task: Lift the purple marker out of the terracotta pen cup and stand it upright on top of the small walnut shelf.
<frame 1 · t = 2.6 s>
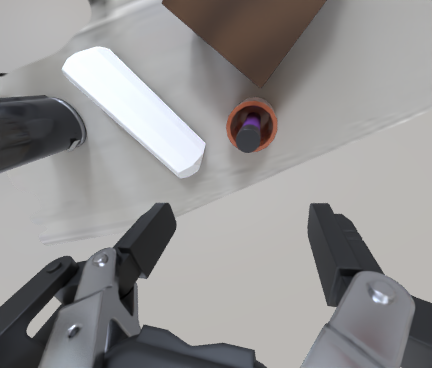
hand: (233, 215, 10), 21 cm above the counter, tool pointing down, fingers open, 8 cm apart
pen cup: (253, 119, 27), on the counter
crystal: (152, 116, 31), on the counter
marker: (253, 119, 26), resting on pen cup
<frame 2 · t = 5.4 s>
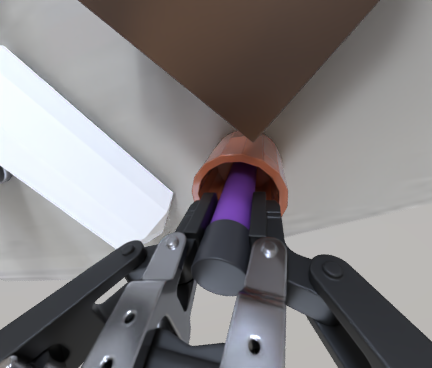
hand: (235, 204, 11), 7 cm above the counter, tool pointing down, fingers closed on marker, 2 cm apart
pen cup: (245, 163, 17), on the counter
crystal: (94, 149, 20), on the counter
marker: (244, 165, 16), point 1 cm above the counter, touching gripper, pen cup
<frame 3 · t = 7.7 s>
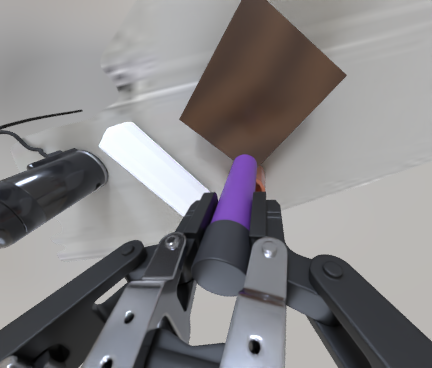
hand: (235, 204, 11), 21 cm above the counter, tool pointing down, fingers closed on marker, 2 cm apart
pen cup: (248, 175, 33), on the counter
shelf: (253, 95, 26), on the counter
crystal: (165, 167, 37), on the counter
marker: (244, 165, 16), point 15 cm above the counter, touching gripper
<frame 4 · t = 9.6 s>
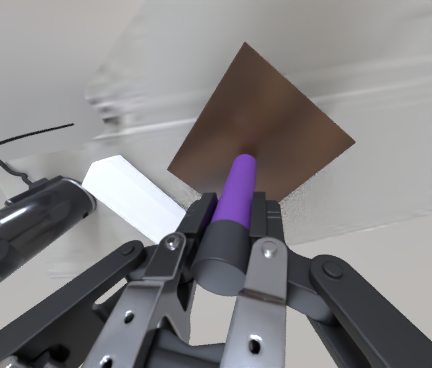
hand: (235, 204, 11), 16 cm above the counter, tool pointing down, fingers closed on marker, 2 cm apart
shelf: (250, 136, 24), on the counter
crystal: (156, 200, 35), on the counter
marker: (244, 165, 16), point 10 cm above the counter, touching gripper
when the fingers open (14 cm above the counter, at t = 10.4 s): marker stays where it is, resting on shelf.
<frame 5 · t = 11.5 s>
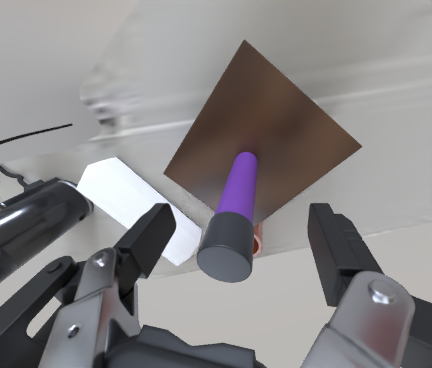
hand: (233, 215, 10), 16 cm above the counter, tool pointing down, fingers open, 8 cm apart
pen cup: (243, 217, 30), on the counter
shelf: (250, 138, 23), on the counter
crystal: (154, 202, 34), on the counter
marker: (245, 162, 17), point 8 cm above the counter, touching shelf
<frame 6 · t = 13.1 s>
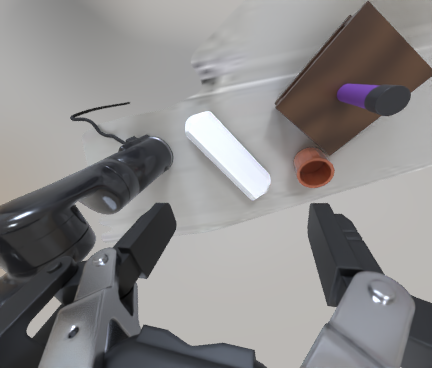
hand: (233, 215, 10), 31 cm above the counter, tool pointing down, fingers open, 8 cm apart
pen cup: (309, 161, 38), on the counter
shelf: (329, 89, 31), on the counter
crystal: (230, 153, 42), on the counter
marker: (346, 92, 24), point 8 cm above the counter, touching shelf
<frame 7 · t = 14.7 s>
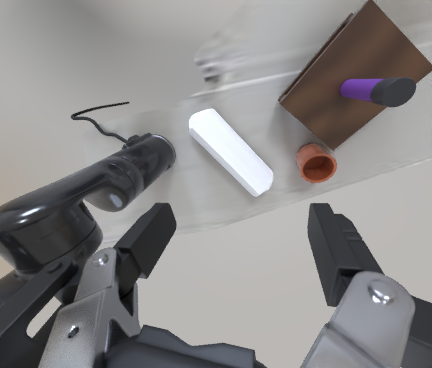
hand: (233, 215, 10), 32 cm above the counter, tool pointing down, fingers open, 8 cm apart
pen cup: (310, 157, 39), on the counter
shelf: (330, 86, 32), on the counter
crystal: (233, 150, 42), on the counter
marker: (348, 88, 25), point 8 cm above the counter, touching shelf
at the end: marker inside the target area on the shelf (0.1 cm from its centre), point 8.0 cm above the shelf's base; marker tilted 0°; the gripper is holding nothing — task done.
